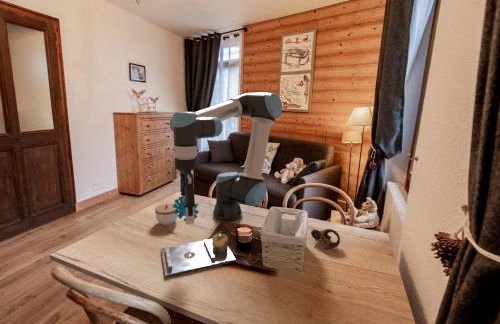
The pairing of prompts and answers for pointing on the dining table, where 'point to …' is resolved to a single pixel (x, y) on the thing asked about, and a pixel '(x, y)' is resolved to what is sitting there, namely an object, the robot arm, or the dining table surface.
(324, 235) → the dark brown ring ornament
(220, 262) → the board
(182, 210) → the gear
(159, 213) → the lidded jar
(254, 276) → the dining table surface
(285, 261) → the storage basket
